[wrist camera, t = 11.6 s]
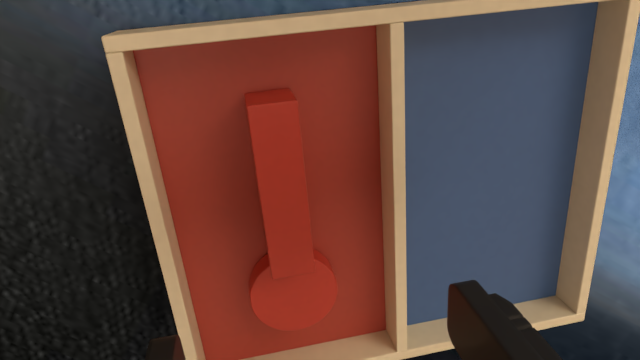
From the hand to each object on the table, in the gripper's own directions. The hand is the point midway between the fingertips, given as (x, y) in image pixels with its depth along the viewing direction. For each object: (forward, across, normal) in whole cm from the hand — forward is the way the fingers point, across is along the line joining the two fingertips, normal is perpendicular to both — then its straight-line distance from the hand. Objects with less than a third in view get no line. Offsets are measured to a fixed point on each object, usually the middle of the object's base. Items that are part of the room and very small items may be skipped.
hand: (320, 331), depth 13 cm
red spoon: (+9, 0, 0) cm, 9 cm away
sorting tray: (+10, -5, +1) cm, 11 cm away
